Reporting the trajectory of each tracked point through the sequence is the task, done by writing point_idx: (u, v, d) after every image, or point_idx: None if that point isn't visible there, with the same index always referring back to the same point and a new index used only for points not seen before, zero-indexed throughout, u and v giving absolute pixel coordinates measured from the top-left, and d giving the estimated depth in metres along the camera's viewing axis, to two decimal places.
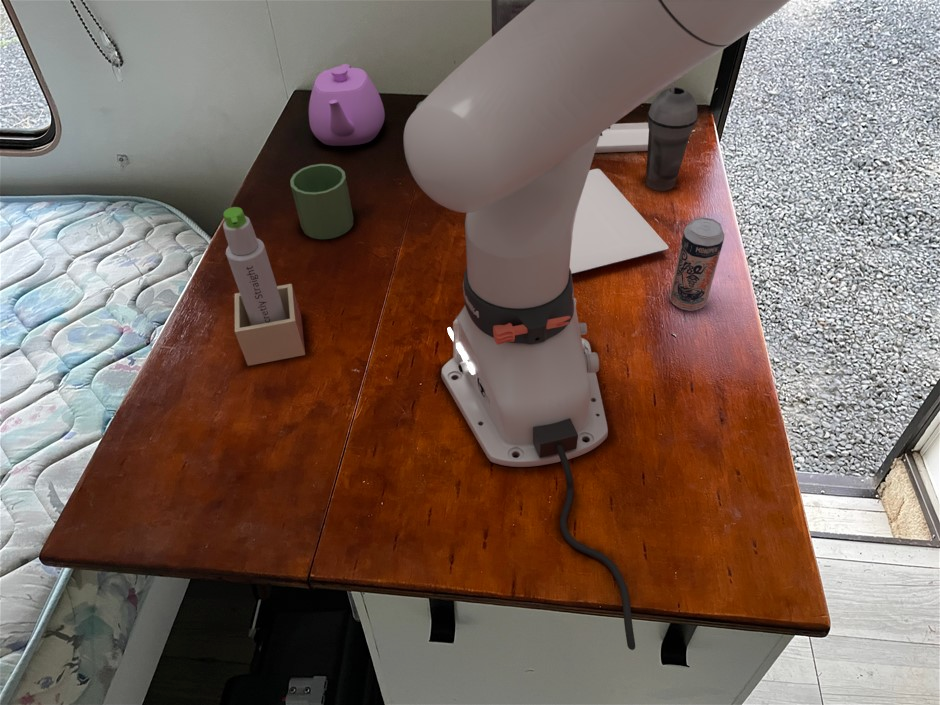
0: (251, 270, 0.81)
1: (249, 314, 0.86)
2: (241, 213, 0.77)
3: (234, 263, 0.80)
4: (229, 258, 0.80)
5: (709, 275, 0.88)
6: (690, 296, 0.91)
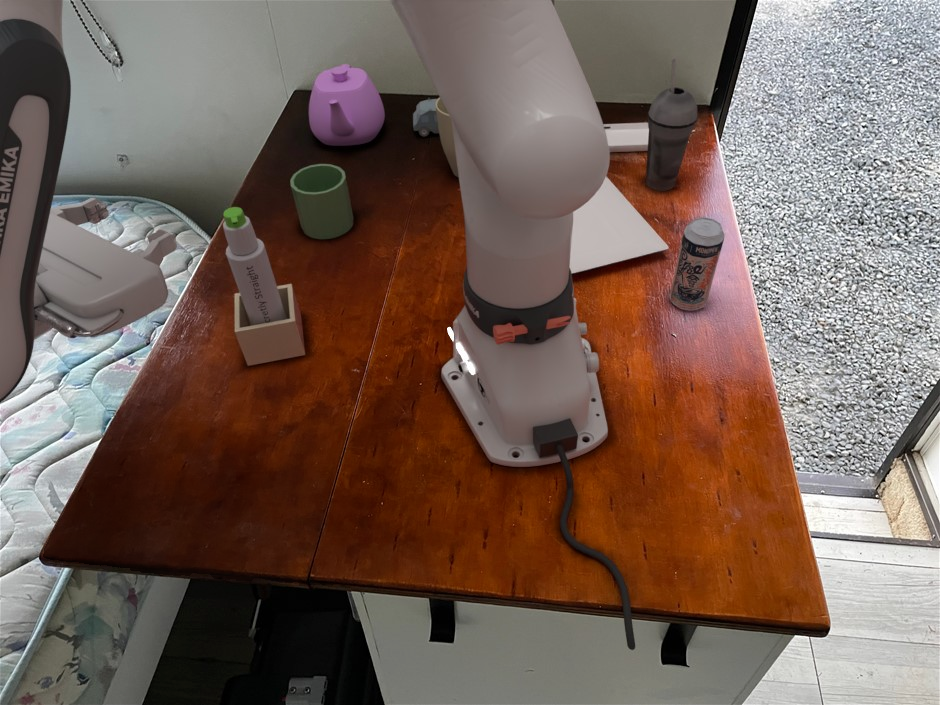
0: (251, 270, 0.81)
1: (249, 314, 0.86)
2: (241, 213, 0.77)
3: (234, 263, 0.80)
4: (229, 258, 0.80)
5: (709, 275, 0.88)
6: (690, 296, 0.91)
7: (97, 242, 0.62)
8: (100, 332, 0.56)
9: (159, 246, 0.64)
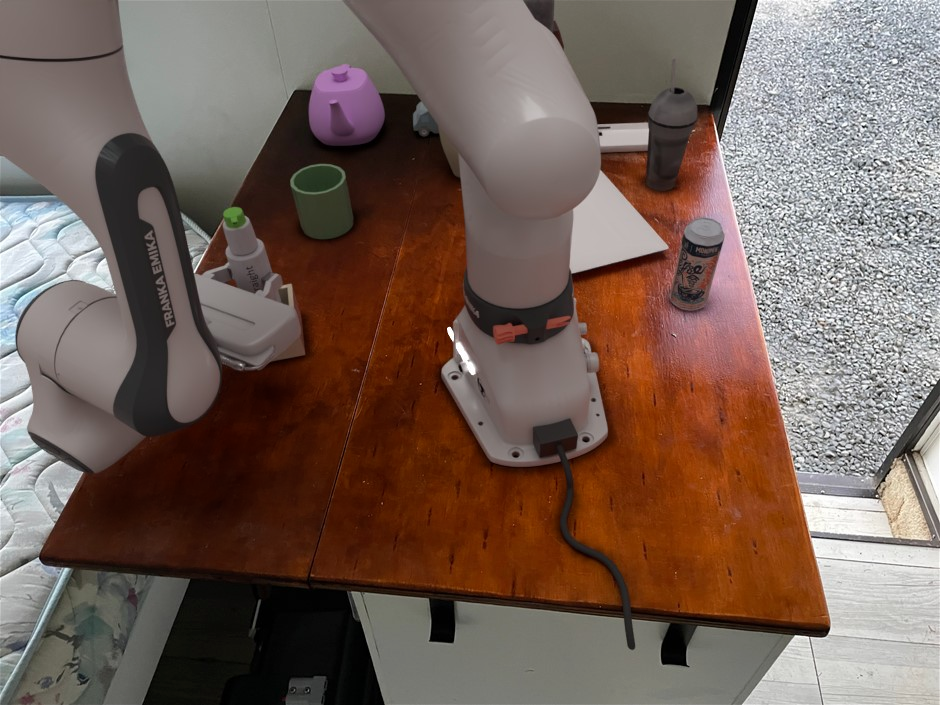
0: (251, 270, 0.81)
1: None
2: (241, 213, 0.77)
3: (234, 263, 0.80)
4: (229, 258, 0.80)
5: (709, 275, 0.88)
6: (690, 296, 0.91)
7: (240, 293, 0.79)
8: (263, 365, 0.74)
9: (272, 285, 0.82)
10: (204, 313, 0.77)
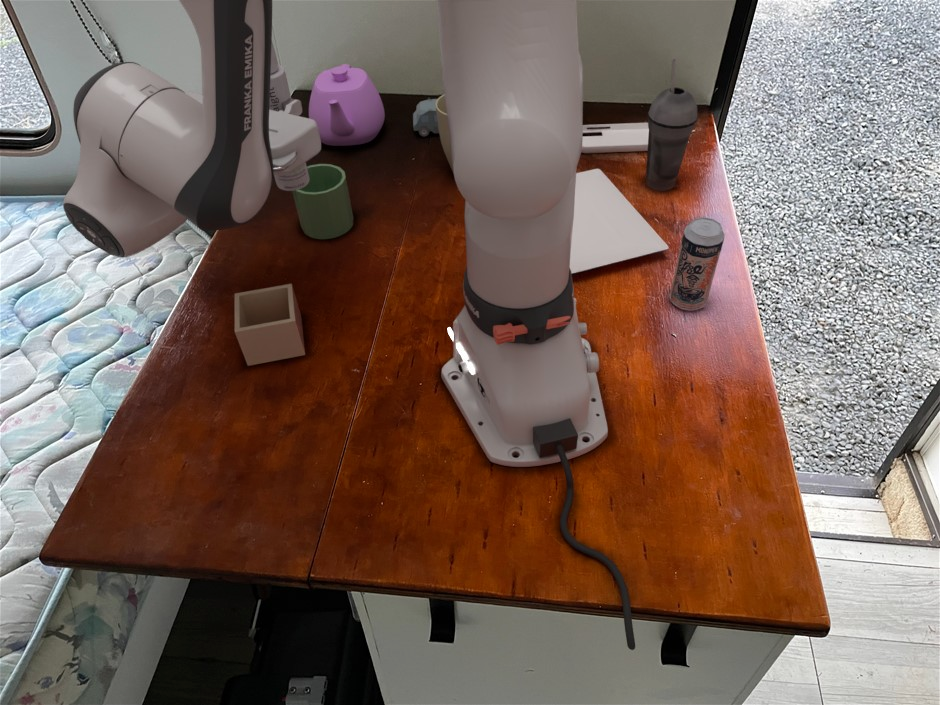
0: (272, 92, 0.83)
1: None
2: None
3: None
4: None
5: (709, 275, 0.88)
6: (690, 296, 0.91)
7: None
8: (287, 167, 0.76)
9: (292, 109, 0.84)
10: None
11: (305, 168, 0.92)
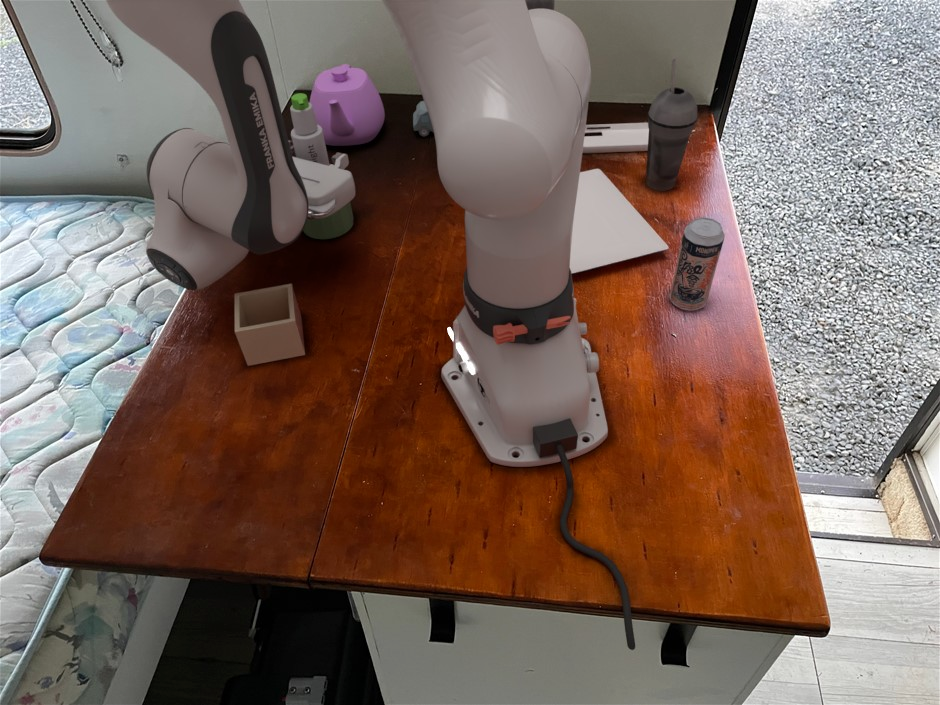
0: (312, 149, 0.98)
1: None
2: (306, 97, 0.94)
3: (298, 142, 0.97)
4: (294, 138, 0.97)
5: (709, 275, 0.88)
6: (690, 296, 0.91)
7: (305, 162, 0.96)
8: (328, 213, 0.90)
9: (341, 162, 0.98)
10: None
11: None
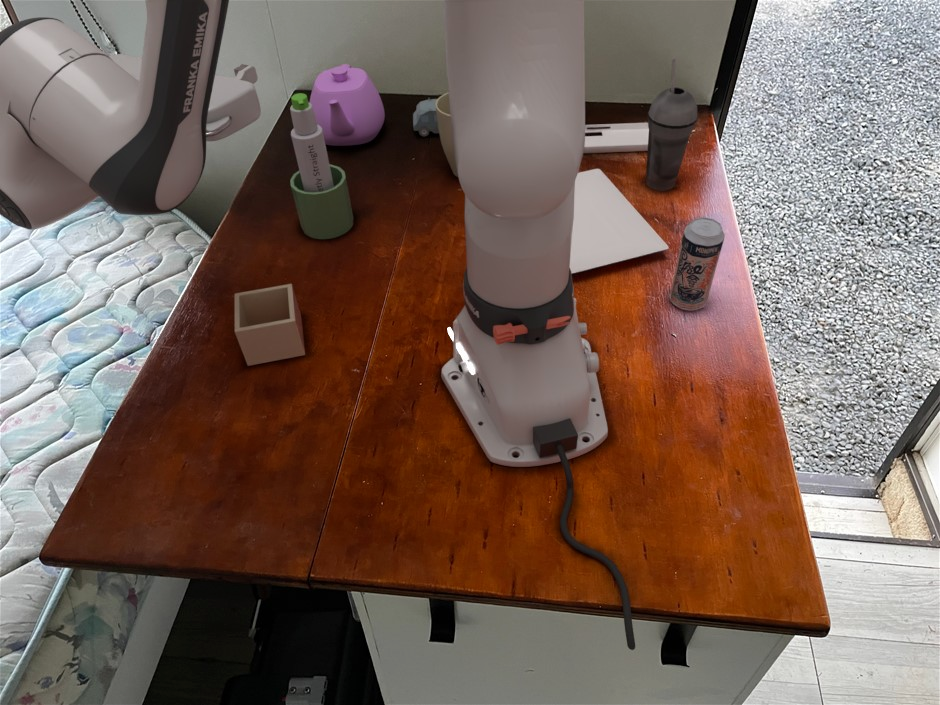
0: (312, 149, 0.98)
1: (306, 191, 1.03)
2: (306, 97, 0.94)
3: (298, 142, 0.97)
4: (294, 138, 0.97)
5: (709, 275, 0.88)
6: (690, 296, 0.91)
7: None
8: (218, 132, 0.70)
9: (245, 75, 0.77)
10: None
11: None
